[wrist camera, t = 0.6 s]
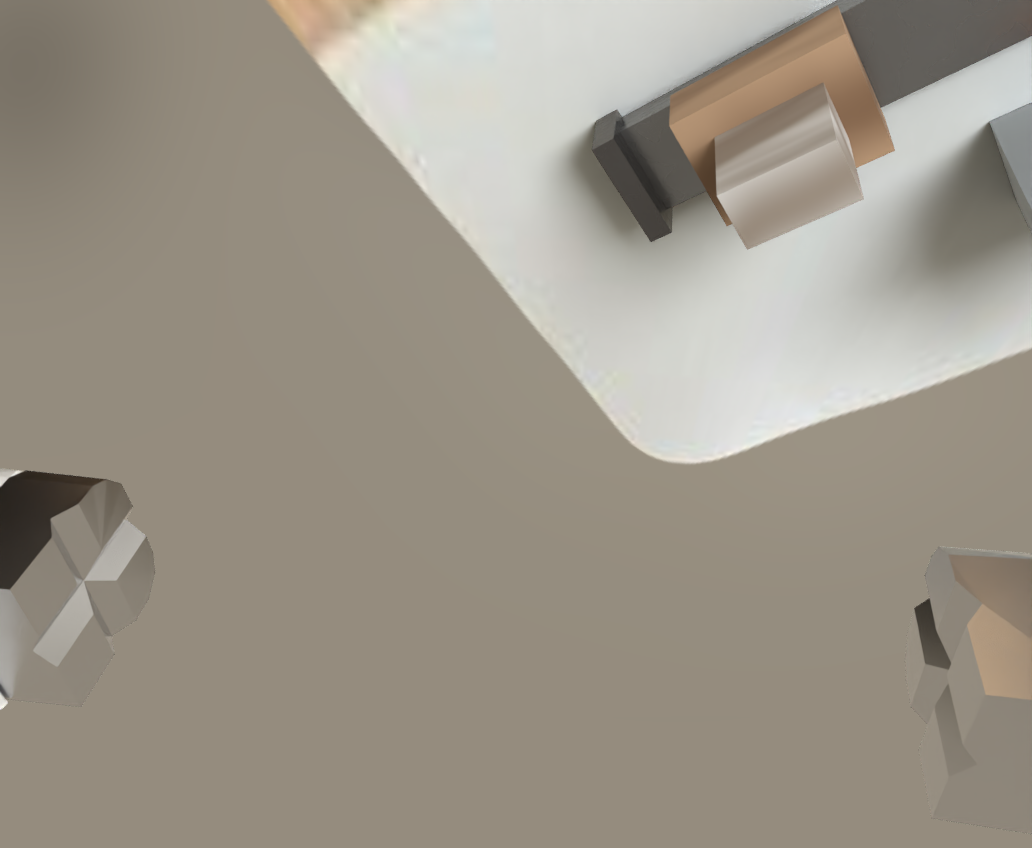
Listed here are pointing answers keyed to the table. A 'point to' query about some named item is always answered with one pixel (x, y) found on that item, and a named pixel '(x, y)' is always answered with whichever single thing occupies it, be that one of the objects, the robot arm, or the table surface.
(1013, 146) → the cabinet
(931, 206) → the table surface
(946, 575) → the robot arm
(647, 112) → the rail
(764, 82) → the carriage
